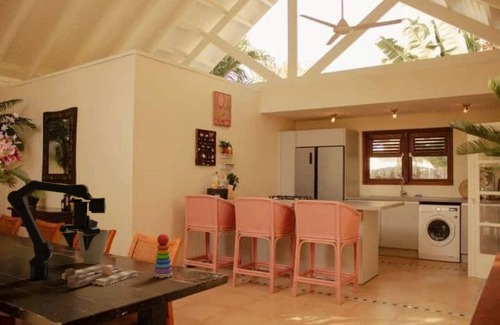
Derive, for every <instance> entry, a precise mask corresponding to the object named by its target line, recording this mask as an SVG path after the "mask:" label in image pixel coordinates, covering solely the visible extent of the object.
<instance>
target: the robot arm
mask: <svg viewBox="0 0 500 325" xmlns="http://www.w3.org/2000/svg"><path fill="white" fill-rule="evenodd" d="M36 191H45V192H51V193H60V194H66V195H68V196H71V197H72V198H71V199H70V200H68V203H69V204H73V206H72V208H73V209H72V215H70V219H72V224H71V223H69V224H62V225H59V233H61V235H62V236H63V237H64V239H65V242H66V243H67V245H68V247H69V249H70V250H71V249H73V248H74V239H75V235H76V234H77V231H79V232H83V233H84V234H85V235H83V240H84V246H85V250H86V251H87V250H88V249H89V246H90V244H91V241H92V239H93V238H94V237H95V236H96V235H98V234H100V230H101V228H100V227H99V226H98V224H99V221H98V220H97V221H96V220H94V219H91V218H90V217H91V216H90V215H89V214H88V211H89V212H90V213H91V214H105V213H106V207H107V204H106V198H105V197H93V196H92V195H91V193H90V192H89V187H88V186H87V185H86V184H82V183H80V184H79V183H77V184H64V183H57V182H48V181H40V180H30V181H29V183H26V184H25V185H24V186H22V187H20V188H19V189H17V190H12V191H10V192H9V193H8V195H7V196H6V199H7V202H8V203H9V204H10V205H11V207H12V209H14V210H15V211H16V212H17V213H18V215H19V218H20V219H21V221H22V224H23V226H24V228H25V230H26V232H27V234H28V236H29V239H30V240H31V242H32V248H33V253H34V256H33V257H32V258H31V259H30V260H29V261H28V263H29V277H27V278H26V280H29V281H34V282H39V281H43V280H47V279H51V276H49V266H48V265H49V263H48V261H49V259H51V258H52V257H53V255H54V249H55V247H54V246H53V245H52V242H51V240H50V239H48V240H46V239H45V238H44V237H43V235H42V232H41V230H40V229H39V227H38V224H37V222H36V221H35V219H34V216H33V214H32V212H31V210H30V206H29V205H30V204H29V200H28V197H29V196H30V195H31V194H33V193H34V192H36Z"/></svg>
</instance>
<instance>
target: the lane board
mask: <svg viewBox="0 0 500 325" xmlns="http://www.w3.org/2000/svg"><path fill="white" fill-rule="evenodd" d="M102 266H103V265H94V266H90V267H86V268H85V267H84V268H81V269H77V270H75V273H79V272H83V271H87V270H91V269H95V268H99V267H102ZM101 272H102V270H99V271H95V272H91V273H87V274H83V275H79V280H83V279H87V278H90V277H94V276H98V275H101ZM112 273H115V274H114V275H110V276H107V277H103V278H100V279H96V280H95V282H91V283H92V284H91V285H95V284H98V285H97V286H100V285H102V286H101V287H106V286H109V285H113V284H116V283H119V282H122V281H121V280H123V281H125V280H124V279H126V280H128V279H127V278H129V279H131V278H130V277H133V278H135V277H134V276H136V277H138V276H139V270H137V271H136V270H132V269H131V270H130V269H129V270H126V271H124V269H123V268H118V267H113V269H112ZM137 275H138V276H137ZM61 279H62V280H66V279H65V272H64V273H62V274H61ZM67 281H68V279H67ZM118 281H119V282H118ZM115 282H116V283H115ZM112 283H113V284H112ZM108 284H109V285H108ZM105 285H106V286H105Z"/></svg>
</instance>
